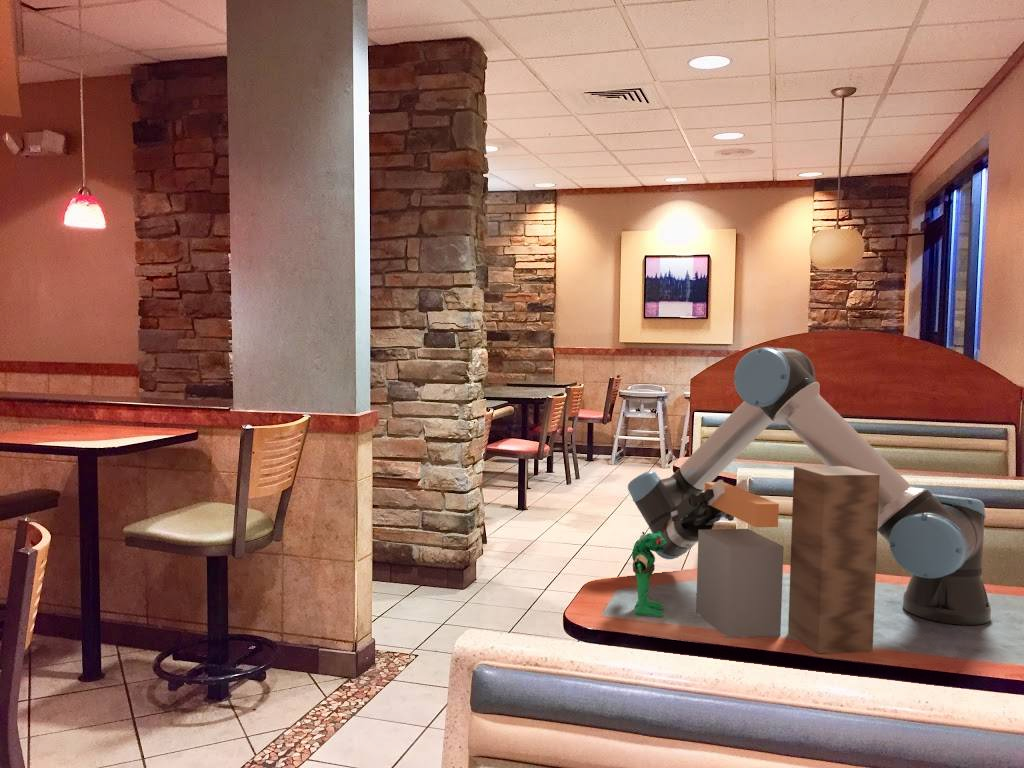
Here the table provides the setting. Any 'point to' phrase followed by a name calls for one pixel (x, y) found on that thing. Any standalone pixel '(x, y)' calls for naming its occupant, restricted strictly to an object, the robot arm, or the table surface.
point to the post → (833, 558)
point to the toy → (646, 571)
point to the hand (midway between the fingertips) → (733, 486)
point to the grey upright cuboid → (739, 582)
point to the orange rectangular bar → (747, 506)
